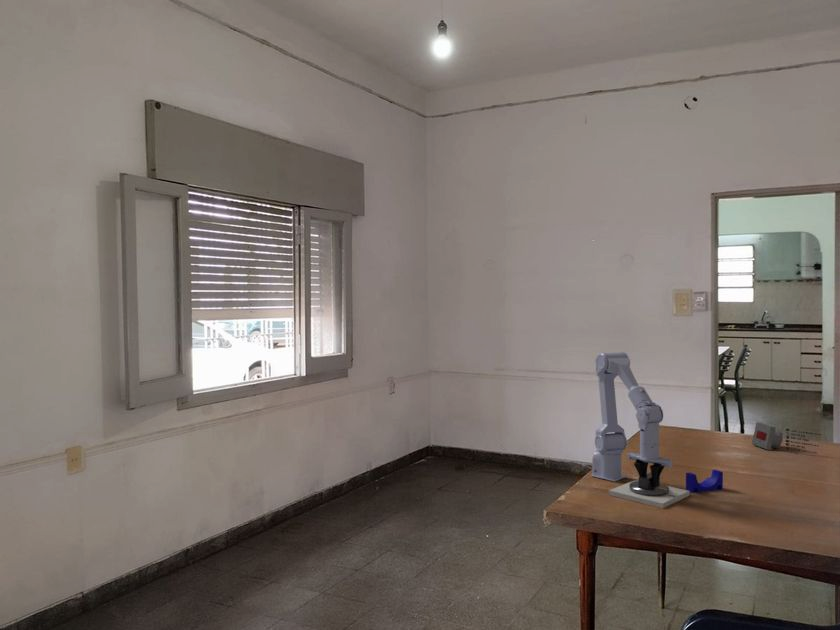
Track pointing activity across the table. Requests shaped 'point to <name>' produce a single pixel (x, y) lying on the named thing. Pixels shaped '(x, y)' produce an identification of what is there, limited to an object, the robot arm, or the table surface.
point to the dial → (648, 486)
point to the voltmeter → (772, 437)
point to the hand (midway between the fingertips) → (649, 485)
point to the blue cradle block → (704, 482)
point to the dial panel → (652, 500)
